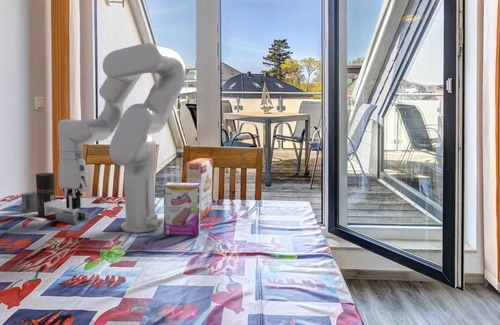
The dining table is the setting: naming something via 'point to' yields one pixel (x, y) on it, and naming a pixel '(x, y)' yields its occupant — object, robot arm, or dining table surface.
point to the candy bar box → (182, 208)
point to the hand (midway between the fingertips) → (73, 207)
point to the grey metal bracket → (72, 217)
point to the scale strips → (39, 218)
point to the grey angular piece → (55, 206)
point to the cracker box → (202, 181)
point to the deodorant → (44, 191)
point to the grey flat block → (29, 202)
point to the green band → (27, 216)
